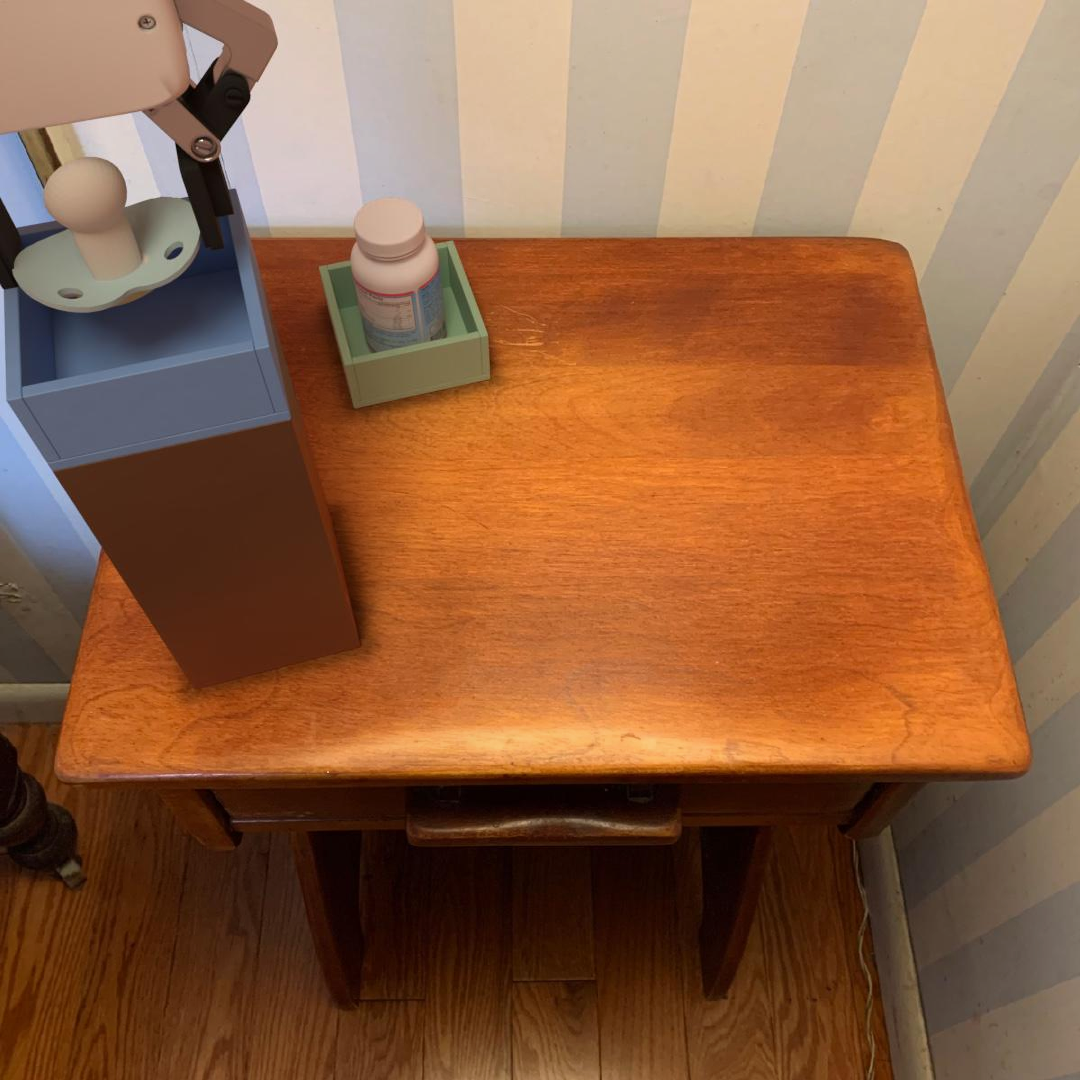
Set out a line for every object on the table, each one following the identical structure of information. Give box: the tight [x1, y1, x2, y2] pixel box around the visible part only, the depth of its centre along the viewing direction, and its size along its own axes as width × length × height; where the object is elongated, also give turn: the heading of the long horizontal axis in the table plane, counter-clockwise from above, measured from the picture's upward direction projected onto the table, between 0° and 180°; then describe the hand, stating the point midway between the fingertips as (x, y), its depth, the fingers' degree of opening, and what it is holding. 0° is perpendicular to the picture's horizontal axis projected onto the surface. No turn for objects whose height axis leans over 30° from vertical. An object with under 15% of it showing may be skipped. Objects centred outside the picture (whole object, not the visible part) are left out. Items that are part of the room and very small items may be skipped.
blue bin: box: [3, 187, 361, 690], centre depth 54 cm, size 10×10×27 cm
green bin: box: [318, 240, 491, 410], centre depth 76 cm, size 10×10×5 cm
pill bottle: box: [349, 196, 447, 353], centre depth 72 cm, size 6×6×11 cm
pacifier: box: [12, 156, 201, 313], centre depth 40 cm, size 7×6×6 cm
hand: (113, 243), depth 41 cm, fingers closed on pacifier, 7 cm apart
